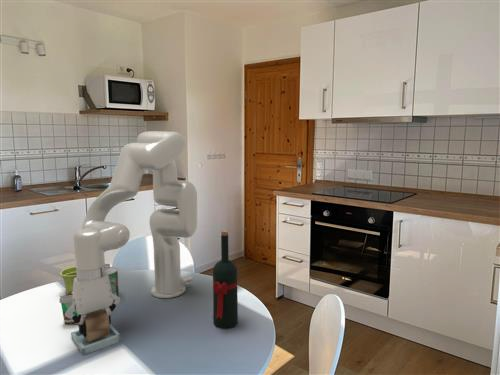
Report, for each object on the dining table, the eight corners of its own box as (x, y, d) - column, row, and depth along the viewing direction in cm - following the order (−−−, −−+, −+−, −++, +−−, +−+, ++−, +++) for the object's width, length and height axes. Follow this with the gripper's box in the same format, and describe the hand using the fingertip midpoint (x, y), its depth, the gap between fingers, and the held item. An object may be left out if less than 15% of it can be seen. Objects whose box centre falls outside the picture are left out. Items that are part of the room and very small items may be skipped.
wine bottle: (206, 330, 116) (204, 236, 111) (218, 315, 126) (216, 227, 121) (231, 334, 114) (230, 238, 109) (241, 318, 124) (240, 228, 119)
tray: (107, 326, 119) (107, 320, 118) (120, 341, 111) (120, 335, 110) (71, 338, 112) (71, 332, 112) (82, 355, 104) (82, 348, 104)
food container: (79, 328, 118) (76, 298, 116) (61, 326, 119) (58, 296, 117) (102, 310, 130) (100, 282, 128) (85, 308, 131) (83, 280, 129)
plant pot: (81, 285, 149) (79, 264, 148) (95, 291, 144) (93, 269, 142) (57, 294, 142) (55, 271, 140) (71, 300, 136) (69, 278, 135)
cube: (102, 325, 115) (101, 307, 114) (109, 334, 111) (108, 314, 110) (82, 332, 111) (80, 313, 110) (88, 341, 107) (87, 321, 106)
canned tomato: (90, 302, 135) (88, 273, 133) (106, 293, 142) (104, 265, 140) (109, 306, 132) (107, 276, 130) (123, 296, 139) (122, 268, 138)
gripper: (116, 261, 116) (119, 316, 119) (54, 275, 105) (60, 335, 108) (126, 268, 111) (129, 325, 114) (61, 284, 100) (67, 347, 103)
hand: (95, 330), depth 111 cm, fingers closed on cube, 5 cm apart
